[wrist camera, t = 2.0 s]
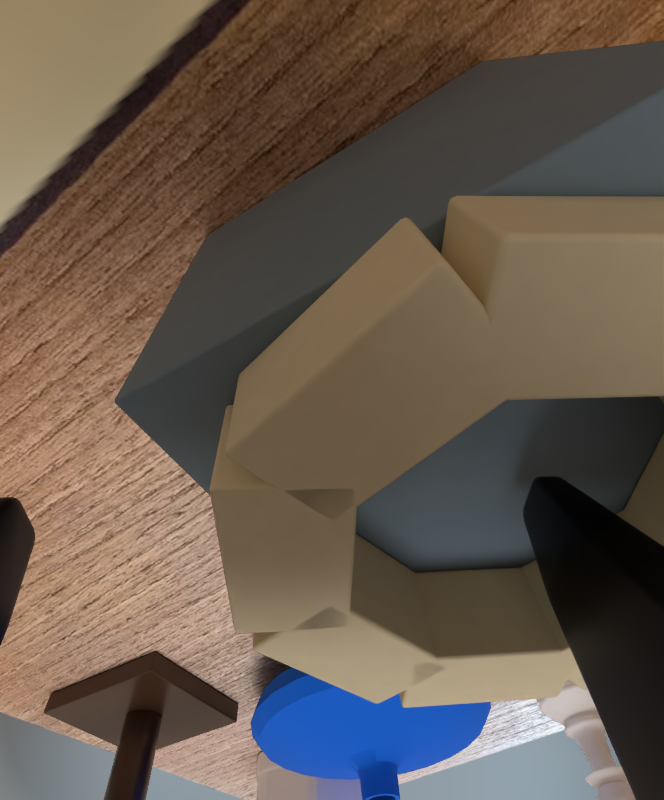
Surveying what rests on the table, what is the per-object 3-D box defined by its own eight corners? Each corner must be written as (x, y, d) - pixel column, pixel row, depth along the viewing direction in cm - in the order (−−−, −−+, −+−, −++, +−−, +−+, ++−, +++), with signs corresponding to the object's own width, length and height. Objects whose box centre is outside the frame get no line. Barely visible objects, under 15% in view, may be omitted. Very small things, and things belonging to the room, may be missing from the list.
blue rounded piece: (512, 676, 35) (555, 795, 29) (339, 742, 39) (347, 857, 34) (404, 578, 27) (434, 712, 22) (205, 673, 32) (185, 806, 26)
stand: (50, 693, 32) (4, 810, 27) (155, 651, 30) (126, 769, 25) (142, 737, 37) (118, 845, 31) (238, 703, 35) (229, 812, 29)
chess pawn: (530, 670, 35) (595, 831, 27) (599, 657, 34) (684, 816, 27) (531, 700, 38) (591, 853, 30) (595, 688, 37) (671, 840, 30)
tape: (122, 484, 9) (81, 580, 7) (632, -8, 5) (790, -49, 4) (442, 660, 13) (464, 744, 11) (834, 458, 10) (947, 536, 8)
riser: (205, 235, 16) (111, 401, 8) (484, 59, 14) (776, 25, 5) (344, 433, 21) (378, 660, 13) (563, 328, 19) (774, 520, 11)
